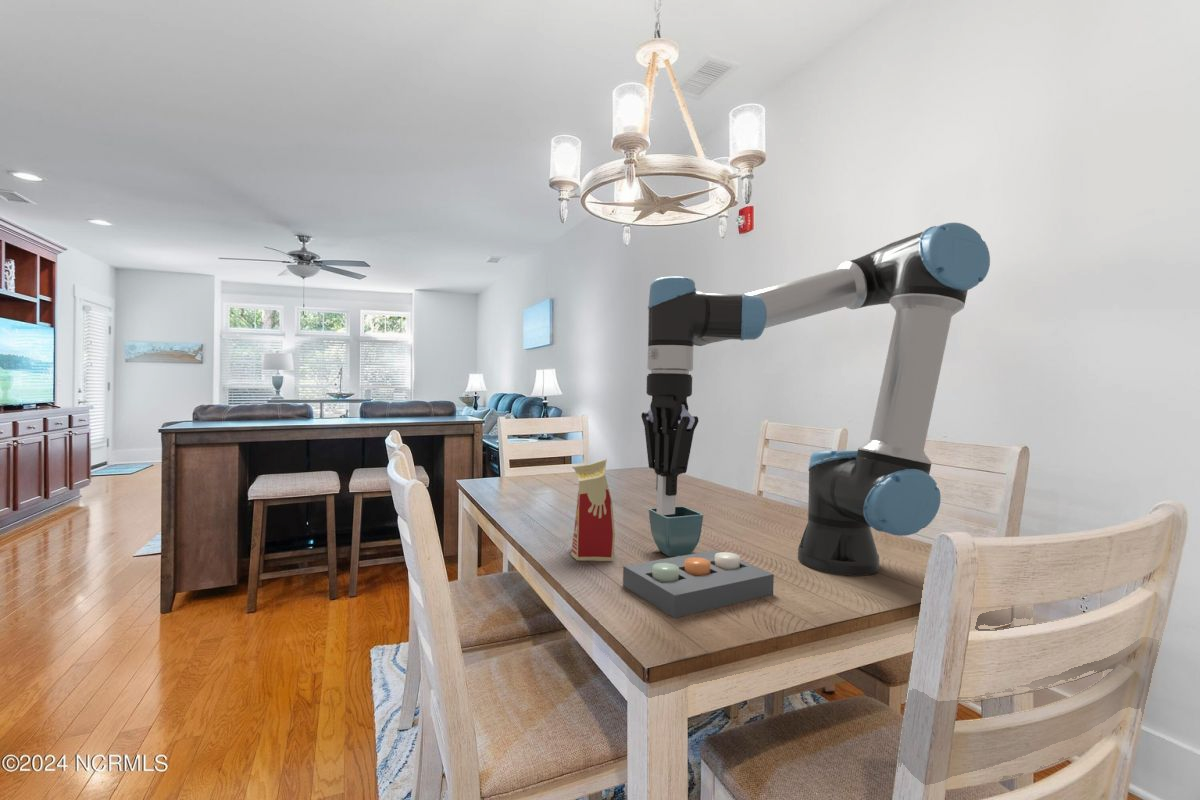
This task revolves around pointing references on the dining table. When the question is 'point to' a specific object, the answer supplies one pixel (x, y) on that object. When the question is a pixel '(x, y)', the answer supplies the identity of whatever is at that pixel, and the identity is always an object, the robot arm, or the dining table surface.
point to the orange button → (697, 566)
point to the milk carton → (593, 515)
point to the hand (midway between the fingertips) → (665, 513)
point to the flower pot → (676, 530)
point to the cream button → (727, 560)
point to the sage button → (665, 572)
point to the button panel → (697, 585)
